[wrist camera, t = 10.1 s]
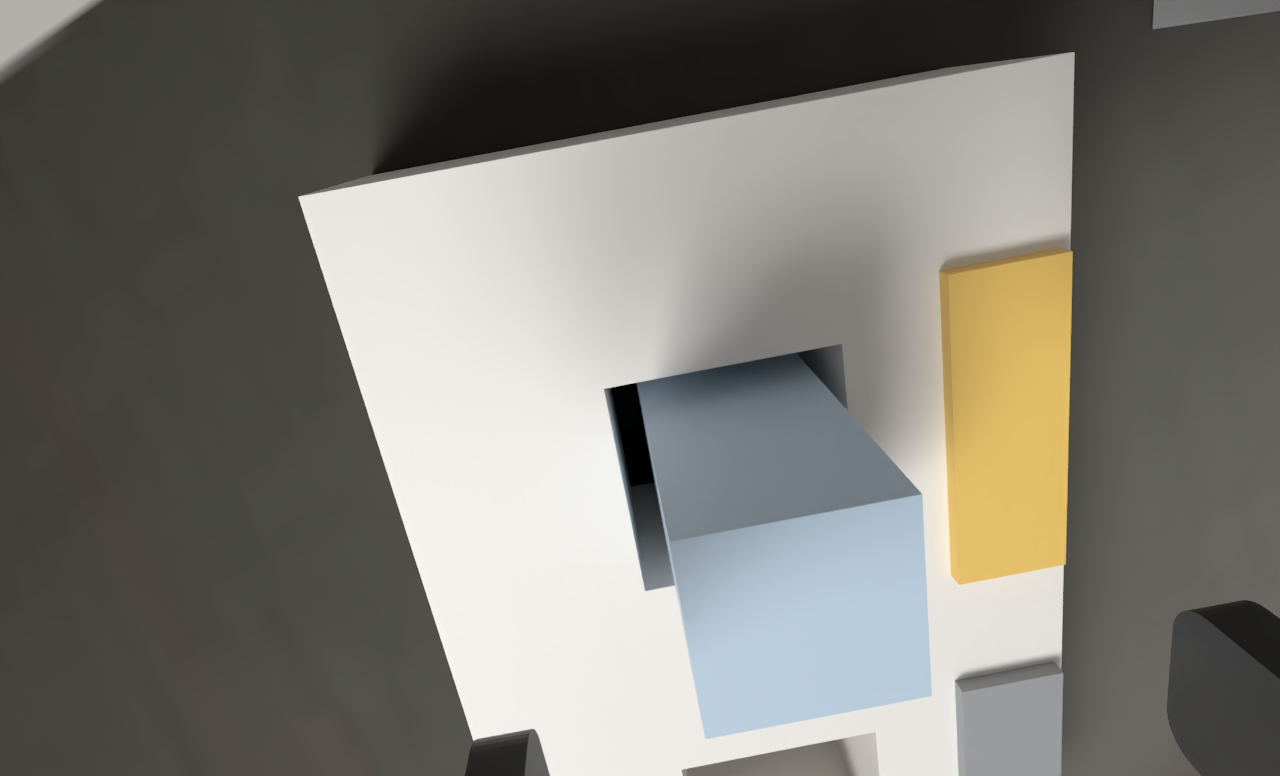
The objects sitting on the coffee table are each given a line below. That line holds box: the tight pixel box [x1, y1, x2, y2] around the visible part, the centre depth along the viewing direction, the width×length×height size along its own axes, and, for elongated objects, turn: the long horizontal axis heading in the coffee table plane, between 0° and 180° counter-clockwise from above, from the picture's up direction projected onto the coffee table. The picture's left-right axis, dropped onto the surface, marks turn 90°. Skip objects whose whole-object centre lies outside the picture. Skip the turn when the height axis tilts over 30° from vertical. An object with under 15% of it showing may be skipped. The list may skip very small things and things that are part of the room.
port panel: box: [298, 52, 1075, 776], centre depth 20 cm, size 14×24×5 cm, turn 10°
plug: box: [636, 353, 932, 739], centre depth 16 cm, size 4×4×10 cm
